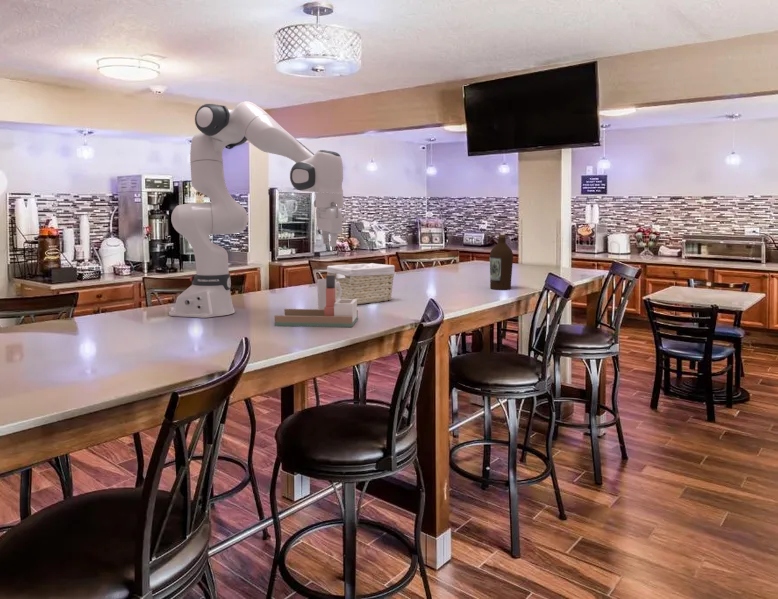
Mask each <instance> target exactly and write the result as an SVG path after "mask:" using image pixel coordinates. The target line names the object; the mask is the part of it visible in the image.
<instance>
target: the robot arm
mask: <svg viewBox="0 0 778 599" xmlns="http://www.w3.org/2000/svg"><path fill="white" fill-rule="evenodd" d="M194 124H195V126H196V127H197V128H196V129H198V130H199V132H198V133H196V134H195V135H194V136H193V137H192V139H191V142H190V143H191V144H190V153H189V154H190V156H189V157H190V158H189V161H190V162H189V163H190V178H191V185H192V187H193V189H194V190H196V191H197V192H198V193H200V194H202V195H204V196H206V197H208V199H209V200H210V202H189V203H184V204H179V205H176V206H175V207H174V208H173V210H172V212H171V217H170V218H171V219H170V220H171V224H172V227H173V228H174V230H175V231H176V232H177V233H178V234H180V235H181V236H182V237H184V238H185V239H186V240H187V241H188V243H189V244H190V246H191V249H192V250H193V255H194V259H195V260H194V261H195V270H196V271H195V274H194V275H192V276H191V277H189V281H190V282H191V285H190V286H189V287H188V288H187V289H185V290H184V291H182V292H181V293H180V294H179V295H178V296H177V298H176V301H175V304H174V305H175V306H174V309H171V310H170V311H169V312H168V316H170V317H171V316H172V317H182V318H183V317H184V318H187V317H188V318H202V319H205V318H207V319H208V318H212V317H222V316H228V315H232V314H235V312H236V311H235V308H234V304H233V300H232V295H231V285H232V283H231V282H232V281H231V274H230V272H229V271H230V270H229V269H230V268H229V253H228V252H227V250H226V249H225V248H224V247H222V246H221V245H218V244H216V243H214V242H212V241H211V239H210V236H211V235H233V234H238V233H242V232H244V230H245V229H246V228H247V225H248V222H249V216H248V212H247V210H246V209H245V207H244V206H243V205H241V204H240V203H239V202H238V201H237V200H235V199H234V198H233V197H232V196H231V194H230V193H229V190H228V187H227V185H226V184H227V183H226V179H225V172H224V162H223V161H224V159H223V158H224V157H223V152H224V149H228V150H231V149H234V148H235V147H238V146H241V145H244V144H245V143H246V142H247V141H249V143H250V144H251V145H252V146H254V147H255V148H257V149H258V150H259V151H262V152H263V153H269V154H273V155H277V156H281V157H284V158H288V159H290V160H291V161H293V162H294V164H293V165H292V167H291V169H290V171H289V179H290V183H291V185H292V187H293V188H294V189H295V190H296V191H300V192H310V193H311V192H312V193H315V194H314V195H315V199H314V200H313V201H314V204H313V206H314V207H315V208H316V209H315V215H316V226H317V229H318V230H319V231H320V230H321V236H322V244H323V245H329V247H332V248H336V247H337V241H338V237H339V236H338V234H342V232H343V214H342V208H344V190H343V182H344V167H343V166H344V165H343V159H342V156H341V155H340V153H338V152H335V151H331V150H325V149H320V150H317V151H316V152H315V153H314V152H312V151H311V150H310V149H309V148H308V147H306V146H305V145H304V144H302V142H300V141H299V140H298V139H297V138H295V137H294V136H293V135H292V134H291V133H289V132H288V131H287V130H286V129H285V128H283V127H282V126H281V125H280V123H278V121H277V120H275V119H274V118H273V117H272V116H271V115H270V114H269V113H268V112H266V111H265V110H264V109H263V108H261V106H259V105H257V104H255V103H254V102H252V101H248V100H245V101H241V102H239V103H238V104H236V105H235V107H234V108H233V109H229V108H228V107H227V106H226V105H220V104H215V103H204V104H202V105H201V106H199V108H197V110H196V112H195V115H194ZM329 234H330V235H329ZM329 236H330V237H329Z"/></svg>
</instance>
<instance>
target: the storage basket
mask: <svg viewBox="0 0 778 599" xmlns="http://www.w3.org/2000/svg"><path fill="white" fill-rule="evenodd" d="M326 267H327V268H326V272H327V273H326V276H327V275H334V276H335V279H336V282H339V283H340V286H341V290H342V294H341V299H357V305H364V304H368V303H369V304H374V303H376V302H377V303H379V302H387V301H388V300H389V301H391V300H392V294H393V293H392V292H393V285H394V284H393V283H394V277H395V269H396V268H395V267H396V266H395V265H394V264H386V263H385V264H384V263H383V264H382V263H374V262H371V263H351V264H335V265H328V266H326ZM338 295H339V290H338V287H337V286H336V299H337V298H338Z"/></svg>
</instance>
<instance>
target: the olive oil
mask: <svg viewBox="0 0 778 599" xmlns="http://www.w3.org/2000/svg"><path fill="white" fill-rule="evenodd" d="M506 236H507V235H506V234H498V238H497V240H498V241H497V244H496V245H495V246H494V247H493V248H492V249H491V250H490V253H489V280H490V281H489V282H490V283H489V286H490V289H491V290H496V291H497V290H498V291H508V290H511V289H512V276H513V275H512V274H513V265H514V253H513V250H512V249H511V247H510V246H509V245H508V244H507V243H506V241H507V240H506Z"/></svg>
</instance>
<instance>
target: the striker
mask: <svg viewBox="0 0 778 599" xmlns="http://www.w3.org/2000/svg"><path fill="white" fill-rule="evenodd" d="M325 279H326V307H325V308H324V316H334V303H335V276H334V275H327V274H326V276H325Z"/></svg>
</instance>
